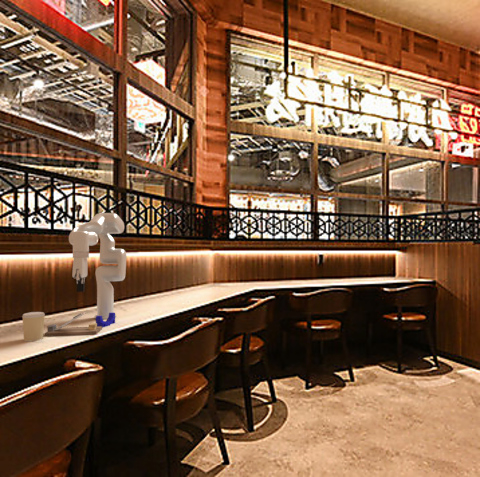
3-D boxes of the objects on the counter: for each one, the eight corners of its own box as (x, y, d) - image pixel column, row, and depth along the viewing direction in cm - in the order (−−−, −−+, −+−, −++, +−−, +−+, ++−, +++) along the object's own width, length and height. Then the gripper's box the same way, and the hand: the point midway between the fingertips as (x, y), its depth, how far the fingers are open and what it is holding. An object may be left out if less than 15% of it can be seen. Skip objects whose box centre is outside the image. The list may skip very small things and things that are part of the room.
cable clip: (102, 327, 197) (102, 316, 197) (95, 327, 199) (95, 316, 199) (117, 323, 208) (117, 312, 209) (110, 323, 210) (110, 312, 210)
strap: (55, 331, 182) (53, 328, 182) (58, 329, 187) (57, 327, 187) (83, 314, 184) (82, 312, 184) (86, 313, 189) (84, 310, 189)
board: (53, 330, 190) (53, 323, 190) (102, 329, 193) (102, 321, 193) (44, 336, 178) (44, 328, 178) (96, 334, 181) (96, 326, 181)
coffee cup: (48, 336, 178) (48, 311, 178) (38, 341, 168) (38, 315, 169) (28, 336, 177) (29, 311, 178) (17, 341, 168) (17, 315, 168)
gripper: (77, 255, 194) (77, 290, 193) (68, 255, 179) (67, 293, 179) (92, 255, 195) (92, 289, 194) (84, 255, 180) (84, 293, 180)
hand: (80, 291), depth 186 cm, fingers closed
